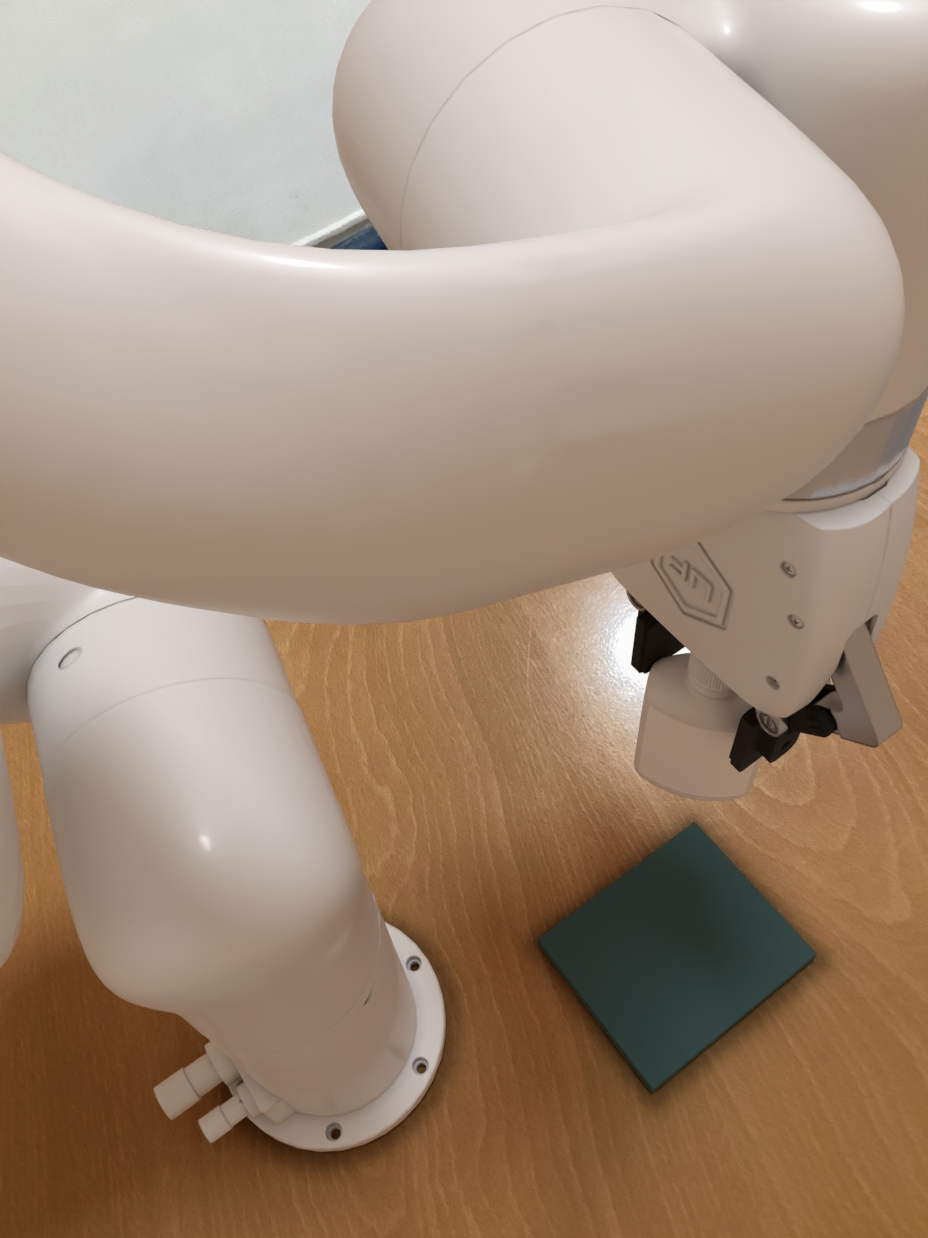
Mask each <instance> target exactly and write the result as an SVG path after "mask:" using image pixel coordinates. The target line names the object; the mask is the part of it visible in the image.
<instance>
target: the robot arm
mask: <svg viewBox="0 0 928 1238" xmlns="http://www.w3.org/2000/svg"><path fill="white" fill-rule="evenodd" d="M331 107H332V109H331V110H332V111H331V118H332V127H333V133H334V140H335V143H336V144H335V146H336V149H337V153H338V158H339V161H340V165H341V167H342V169H343V171H344V174H345V177H346V179H347V181H348V183H349V186H350V188H351V190H352V192H353V194H354V196H355V198H356V200H357V202H358V204H359V205H360V207H361V209H362V210H363V212H364V214H365V215H366V217H367V219H368V220H369V222H370V223H371V226H372V227H373V228H374V230H375V232H376V234H378V236H379V238H380V239H381V241H382V242H383V244H384V245H385V248H386V249H353V248H352V249H349V248H348V249H345V248H327V247H326V248H324V247H318V246H317V247H315V246H308V245H298V244H290V243H283V242H282V243H281V242H273V241H264V240H256V239H251V238H246V237H242V236H237V235H234V234H233V235H232V234H229V233H225V232H224V233H223V232H219V231H214V230H210V229H205V228H201V227H196V226H193V225H192V226H191V225H187V224H182V223H179V222H175V221H172V220H168V219H165V218H162V217H159V216H156V215H153V214H150V213H146V212H144V211H140V210H137V209H134V208H131V207H128V206H125V205H122V204H118V203H115V202H112V201H109V200H106V199H103V198H101V197H99V196H97V195H94V194H91V193H90V192H87V191H85V190H82V189H80V188H78V187H75V186H73V185H72V184H71V185H70V184H69V183H66V182H63V181H61V180H59V179H56V178H55V177H52V176H50V175H47V174H45V173H43V172H41V171H39V170H38V169H36V168H33V167H31V166H30V165H28V164H26V163H24V162H23V161H20V160H18V159H16V158H14V157H12V156H11V155H9V154H8V153H5V152H3V151H2V150H0V726H8V725H17V724H18V725H19V724H28V723H29V724H31V729H32V732H33V737H34V742H35V748H36V752H37V757H38V761H39V766H40V771H41V775H42V781H43V787H42V788H43V795H44V799H45V803H46V807H47V810H48V817H49V822H50V827H51V830H52V836H53V841H54V842H53V843H54V846H55V851H56V857H57V861H58V865H59V870H60V874H61V879H62V884H63V889H64V892H65V895H66V899H67V904H68V907H69V911H70V915H71V918H72V921H73V924H74V928H75V930H76V934H77V936H78V940H79V941H80V944H81V947H82V950H83V953H84V955H85V958H86V959H87V962H88V963H89V965H90V967H91V969H92V971H93V972H94V974H95V975H96V977H97V978H98V979H99V980H100V982H101V983H102V984H103V986H104V987H106V988H107V989H108V990H109V991H110V992H112V993H113V994H114V995H115V996H117V997H118V998H120V999H122V1000H124V1001H126V1002H128V1003H130V1004H132V1005H135V1006H139V1007H142V1008H145V1009H149V1010H155V1011H160V1012H166V1013H171V1014H176V1015H178V1016H179V1017H181V1018H182V1020H185V1022H187V1023H188V1024H189V1025H190V1026H191V1027H193V1029H195V1030H196V1031H197V1032H198V1033H200V1034H201V1035H202V1036H203V1037H205V1038H206V1039H207V1040H208V1042H207V1043H205V1044H204V1045H203V1046H204V1050H205V1053H204V1054H203V1055H201V1056H199V1057H198V1058H197V1059H195V1060H194V1061H192V1062H191V1063H190V1064H189V1065H186V1066H185V1067H184V1066H182V1067H181V1068H179V1069H178V1070H177V1071H175V1072H173V1073H172V1074H171V1075H169V1076H168V1077H167V1078H165V1079H164V1080H162V1081H160V1082H159V1083H158V1084H157V1085H155V1086H154V1087H153V1089H152V1090H153V1093H154V1096H155V1098H156V1101H157V1103H158V1104H159V1106H160V1108H161V1109H162V1111H163V1113H164V1114H165V1115H166V1117H167V1118H168V1119H169V1120H170V1121H173V1120H174V1119H176V1118H177V1117H178V1116H180V1115H182V1114H183V1113H184V1112H186V1111H188V1110H189V1109H190V1108H191V1107H193V1106H194V1105H195V1104H197V1103H198V1102H200V1101H202V1100H203V1097H204V1096H205V1095H207V1094H208V1093H209V1092H210V1091H212V1090H213V1089H215V1088H216V1087H217V1086H219V1085H220V1084H221V1083H223V1084H225V1086H227V1087H228V1089H229V1091H230V1093H231V1096H232V1097H230V1098H229V1099H227V1100H226V1101H225V1102H223V1103H222V1104H218V1105H217V1106H216V1107H214V1108H213V1109H211V1110H210V1111H208V1112H207V1113H206V1114H205V1115H202V1117H200V1118H198V1119H197V1122H198V1125H199V1128H200V1129H201V1130H200V1131H202V1133H203V1136H204V1137H205V1139H206V1140H207V1141H208V1142H209V1143H210V1144H213V1143H214V1142H216V1141H217V1140H218V1139H220V1138H222V1137H223V1136H224V1135H225V1134H227V1133H228V1132H229V1131H231V1130H232V1129H234V1126H235V1125H237V1124H238V1123H240V1122H241V1121H243V1119H245V1118H247V1119H248V1120H249V1121H250V1122H251V1123H253V1124H254V1125H255V1126H256V1127H257V1128H259V1129H260V1130H261V1131H263V1132H264V1133H265V1134H266V1135H268V1136H270V1137H271V1138H272V1139H274V1140H276V1141H278V1142H280V1143H283V1144H285V1145H288V1146H290V1147H293V1148H295V1149H299V1150H304V1151H310V1152H311V1151H312V1152H317V1153H325V1152H340V1151H347V1150H351V1149H353V1148H357V1147H361V1146H364V1145H366V1144H368V1143H371V1142H372V1141H375V1140H376V1139H379V1138H380V1137H383V1136H385V1135H387V1134H388V1133H389V1132H390V1131H391V1130H393V1129H394V1128H395V1127H397V1126H398V1125H399V1124H401V1123H402V1122H403V1121H405V1119H406V1118H407V1117H408V1116H410V1114H411V1113H412V1111H414V1109H415V1108H416V1107H417V1106H418V1105H419V1104H420V1103H421V1102H422V1099H423V1098H424V1097H425V1095H426V1093H427V1091H428V1090H429V1088H430V1087H431V1086H432V1083H433V1082H434V1079H435V1076H436V1074H437V1071H438V1069H439V1066H440V1063H441V1062H442V1057H443V1052H444V1047H445V1042H446V1038H447V1036H446V1035H447V1012H446V1007H445V1001H444V995H443V991H442V988H441V986H440V982H439V980H438V976H437V975H436V973H435V971H434V969H433V967H432V965H431V963H430V960H429V958H427V956H426V955H425V954H424V953H423V951H422V949H421V948H420V947H419V946H418V944H417V943H416V942H415V941H413V940H412V939H411V937H409V936H408V935H406V934H405V933H404V932H403V931H402V930H401V929H399V928H397V927H396V926H393V925H392V924H390V923H388V922H386V921H385V919H384V917H383V914H382V912H381V909H380V907H379V904H378V902H377V899H376V897H375V895H374V893H373V891H372V889H371V887H370V885H369V882H368V879H367V877H366V875H365V872H364V870H363V865H362V860H361V858H360V855H359V851H358V848H357V845H356V843H355V840H354V837H353V835H352V833H351V830H350V827H349V825H348V822H347V820H346V817H345V814H344V812H343V810H342V808H341V805H340V802H339V800H338V798H337V795H336V793H335V790H334V787H333V785H332V783H331V781H330V778H329V776H328V773H327V771H326V768H325V766H324V762H323V761H322V758H321V755H320V753H319V750H318V747H317V745H316V743H315V740H314V737H313V735H312V733H311V730H310V727H309V724H308V722H307V719H306V717H305V714H304V712H303V710H302V708H301V707H300V705H299V703H298V701H297V698H296V695H295V692H294V690H293V688H292V685H291V683H290V680H289V677H288V674H287V672H286V670H285V667H284V664H283V662H282V660H281V659H282V658H281V656H280V654H279V652H278V649H277V647H276V643H275V641H274V638H273V636H272V634H271V631H270V629H269V628H268V625H267V622H266V620H269V621H276V622H284V623H295V624H311V625H332V626H333V625H335V626H354V627H355V626H369V625H370V626H371V625H388V624H401V623H411V622H416V621H417V622H418V621H422V620H423V621H424V620H429V619H435V618H442V617H447V616H453V615H457V614H462V613H465V612H468V611H473V610H476V609H480V608H485V607H488V606H492V605H495V604H499V603H503V602H506V601H510V600H514V599H517V598H521V597H525V596H528V595H532V594H535V593H539V592H542V591H543V592H544V591H547V590H551V589H553V588H557V587H561V586H564V585H568V584H572V583H575V582H579V581H582V580H586V579H589V578H593V577H597V576H601V575H603V574H607V573H611V574H612V575H613V577H614V578H615V579H616V580H617V582H618V583H619V584H620V585H621V586H622V587H623V588H624V589H625V591H626V596H627V599H628V601H629V602H630V605H632V606H633V607H634V608H635V610H637V616H636V620H635V629H634V637H633V643H632V652H631V660H630V665H631V667H633V669H635V670H636V672H637V673H639V674H642V673H643V674H644V675H646V674H649V672H650V669H651V667H652V665H653V664H654V663H655V662H656V661H657V660H659V659H661V658H664V657H668V656H672V655H676V654H678V652H680V651H682V650H683V649H684V648H686V649H687V650H688V651H689V653H690V652H691V653H692V654H694V655H695V656H696V657H697V658H698V659H699V660H700V661H701V662H702V663H703V664H704V665H705V666H706V667H708V668H709V669H710V670H711V671H712V672H713V673H714V674H715V675H716V676H717V677H718V678H719V679H720V680H722V681H723V682H724V683H725V684H726V685H727V686H728V687H729V688H730V689H732V690H733V691H734V692H735V693H736V694H737V695H738V696H740V697H741V698H742V699H743V700H744V701H746V702H747V703H748V704H750V705H751V706H753V707H752V708H751V709H749V710H748V711H747V712H745V713H744V714H743V716H742V717H741V719H740V722H739V725H738V729H737V732H736V735H735V739H734V742H733V745H732V748H731V752H730V755H729V758H730V759H731V761H730V764H731V765H732V766H733V767H734V768H735V769H736V770H737V771H738V772H742V771H743V770H745V769H746V768H747V767H749V766H750V765H751V764H753V763H754V762H755V761H756V760H758V759H759V758H760V757H762V758H764V759H765V760H766V761H767V762H768V763H769V764H772V763H775V762H776V761H778V760H779V759H780V758H781V757H782V756H784V755H785V754H787V753H788V752H789V751H790V750H791V749H792V748H793V747H794V746H795V744H796V743H797V742H798V739H799V737H800V734H805V735H810V736H813V737H819V738H828V737H830V736H831V735H832V734H833V735H837V736H839V737H840V739H841V740H844V741H848V742H851V743H855V744H858V745H862V746H866V747H869V748H872V749H873V748H874V749H876V748H878V747H879V746H881V745H882V744H883V743H885V742H886V741H887V740H889V738H891V737H892V736H893V735H895V734H896V733H897V732H898V731H900V730H901V729H902V728H903V726H904V722H903V719H902V716H901V713H900V710H899V708H898V705H897V702H896V701H895V697H894V694H893V691H892V689H891V686H890V684H889V681H888V677H887V676H886V673H885V670H884V668H883V665H882V662H881V660H880V657H879V654H878V652H877V649H876V644H877V643H878V640H879V638H880V636H881V634H882V631H883V629H884V626H885V624H886V621H887V619H888V616H889V614H890V611H891V608H892V606H893V604H894V602H895V601H894V600H895V598H896V594H897V592H898V588H899V585H900V583H901V582H900V581H901V579H902V577H903V576H902V575H903V571H904V568H905V563H906V560H907V556H908V553H909V549H910V545H911V540H912V534H913V530H914V525H915V519H916V512H917V511H916V510H917V504H918V498H919V497H918V496H919V488H920V487H919V485H920V472H921V461H920V460H921V459H920V457H919V455H918V454H917V453H916V451H914V449H913V448H912V447H911V446H910V445H909V444H910V442H911V439H912V438H913V434H914V432H915V429H916V427H917V425H918V422H919V419H920V417H921V415H922V412H923V410H924V407H925V405H926V402H927V400H928V0H370V2H369V3H368V4H367V6H366V7H365V8H364V10H363V11H362V13H361V14H360V15H359V17H358V18H357V19H356V21H355V23H354V25H353V27H352V29H351V31H350V32H349V34H348V36H347V38H346V40H345V43H344V46H343V48H342V51H341V54H340V57H339V59H338V63H337V66H336V70H335V75H334V80H333V86H332V106H331ZM831 681H832V684H831ZM12 788H13V787H12V783H11V779H10V772H9V767H8V762H7V756H6V752H5V747H4V740H3V734H2V729H1V728H0V969H1V968H2V967H3V966H4V964H5V963H6V962H7V961H8V960H9V958H10V956H11V954H12V952H13V949H14V947H15V944H16V942H17V939H18V936H19V934H20V931H21V927H22V921H23V914H24V913H23V912H24V905H25V883H24V882H25V880H24V879H25V877H24V876H25V875H24V861H23V852H22V847H21V846H22V845H21V837H20V831H19V830H20V829H19V824H18V823H19V822H18V819H17V812H16V807H15V799H14V794H13V789H12ZM414 965H417V966H418V969H417V970H412V967H413V966H414ZM420 1066H425V1070H424V1072H422V1073H421V1072H419V1070H418V1069H419V1067H420ZM337 1130H338V1131H339V1132H340V1133H339V1134H340V1135H339V1136H338V1138H333V1133H334V1132H335V1131H337Z"/></svg>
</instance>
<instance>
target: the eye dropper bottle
mask: <svg viewBox="0 0 928 1238" xmlns="http://www.w3.org/2000/svg"><path fill="white" fill-rule="evenodd" d="M642 701H643V702H642V705H641V713H640V719H639V725H638V732H637V737H636V746H635V752H634V757H633V758H634V759H633V766H634V771H635V772H636V773H637V775H638V776H639V777H641V778H642V779H643V780H645V781H646V782H648V783H649V784H651V785H653V786H655V787H656V788H658V789H660V790H662V791H664V792H667V793H669V794H672V795H675V796H678V797H681V798H685V799H690V800H696V801H704V802H724V801H725V802H726V801H733V800H739V799H741V798H743V797H745V796H747V795H749V793H750V791H751V789H752V787H753V784H754V781H755V778H756V775H757V773H758V770H759V767H760V764H761V762H762V759H763V756H762V757H760V758H759V759H758V760H756V761H755V762H754V763H753V764H751V765H750V766H749V767H747V768H746V769H745V770H743V771H742V772H738V771H737V770H736V769H735V768H734V767H733V766H732V765H731V764H730V761H731V759H730V758H729V755H730V752H731V748H732V745H733V742H734V739H735V735H736V732H737V729H738V725H739V722H740V719H741V717H742V716H743V714H744V713H745V712H747V711H748V710H749V709H751V708H752V707H753V706H751V705H750V704H748V703H747V702H746V701H744V700H743V699H742V698H741V697H740V696H738V695H737V694H736V693H735V692H734V691H733V690H732V689H730V688H729V687H728V686H727V685H726V684H725V683H724V682H723V681H722V680H720V679H719V678H718V677H717V676H716V675H715V674H714V673H713V672H712V671H711V670H710V669H709V668H708V667H706V666H705V665H704V664H703V663H702V662H701V661H700V660H699V659H698V658H697V657H696V656H695V655H694V654H692V653H691V652H690V651H689V652H685V653H676V654H674V655H672V656H668V657H664V658H661V659H659V660H657V661H656V662H655V663H654V664H653V665H652V667H651V669H650V672H648V675H647V680H646V685H645V690H644V694H643V700H642Z"/></svg>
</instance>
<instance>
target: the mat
mask: <svg viewBox="0 0 928 1238" xmlns="http://www.w3.org/2000/svg"><path fill="white" fill-rule="evenodd" d="M537 946H538V947H539V949H540V950H541V951H542V953H544V955H545V956H546V958H547V959H548V961H550V963H551V964H552V965H553V967H554V968H555V969H556V971H557V972H558V973H559V974H560V976H561V977H562V978H563V980H564V981H565V982H566V984H567V985H568V987H570V989H571V990H572V992H573V993H574V994H575V996H576V997H577V998H578V1000H579V1001H580V1002H581V1003H582V1005H583V1006H584V1008H586V1010H587V1011H588V1013H589V1014H590V1015H591V1016H592V1018H593V1019H594V1020H595V1022H596V1023H597V1024H598V1026H599V1027H600V1028H601V1029H602V1031H603V1032H604V1033H605V1034H606V1036H607V1037H608V1039H609V1040H610V1041H611V1042H612V1044H613V1045H614V1046H615V1048H616V1049H617V1050H618V1052H619V1053H620V1055H622V1058H624V1059H625V1060H626V1062H627V1063H628V1065H629V1066H630V1067H631V1068H632V1070H633V1072H634V1073H635V1074H636V1075H637V1076H638V1078H639V1079H640V1080H641V1082H642V1083H643V1085H644V1086H645V1087H646V1088H647V1089H648V1091H649V1092H650V1093H651V1094H654V1093H655V1092H657V1091H658V1090H659V1089H660V1088H661V1087H662V1086H664V1085H665V1084H666V1083H667V1082H669V1080H671V1079H672V1078H673V1077H674V1076H676V1075H677V1074H678V1073H679V1072H681V1071H682V1070H683V1069H684V1068H686V1067H687V1066H688V1065H689V1064H690V1063H692V1062H693V1061H694V1060H695V1059H696V1058H697V1057H698V1056H700V1055H701V1054H702V1053H704V1051H706V1050H707V1049H708V1048H709V1047H711V1046H712V1045H713V1044H714V1043H716V1042H717V1041H718V1040H719V1039H720V1038H722V1036H724V1035H725V1034H726V1033H727V1032H729V1031H730V1030H732V1029H733V1027H735V1026H736V1025H737V1024H738V1023H739V1022H741V1021H742V1020H743V1019H745V1017H747V1016H748V1015H749V1014H750V1013H752V1012H753V1011H754V1010H756V1008H757V1007H759V1006H760V1005H761V1004H763V1003H764V1002H766V1000H767V999H768V998H770V997H771V996H772V995H773V994H775V993H776V991H778V990H779V989H780V988H781V987H783V986H784V985H785V984H786V983H788V982H789V981H790V980H791V979H792V978H793V977H795V976H796V975H798V974H799V972H801V971H802V970H804V968H806V967H807V966H808V965H810V963H812V962H813V961H814V960H815V959H816V957H817V955H818V954H817V953H816V951H815V950H814V949H813V948H812V947H811V946H810V945H809V943H808V942H807V941H806V940H805V939H804V938H803V937H802V936H801V935H800V934H799V933H798V932H797V931H796V929H795V928H794V927H793V926H792V925H791V924H790V923H789V922H788V920H786V919H785V918H784V916H783V915H782V914H781V913H780V912H779V911H778V910H777V909H776V908H775V907H774V905H772V904H771V902H770V901H769V900H768V899H767V898H766V897H765V896H764V895H763V894H762V892H760V891H759V889H757V887H756V885H754V884H753V883H752V882H751V880H749V879H748V878H747V876H745V874H744V873H743V872H742V871H741V870H740V868H738V867H737V865H736V864H735V863H733V862H732V860H731V859H730V858H729V857H728V856H727V855H726V853H724V851H722V849H721V848H720V847H719V846H718V845H717V843H715V842H714V841H713V840H712V839H711V838H710V836H709V835H708V834H707V833H706V832H705V831H704V830H703V829H702V828H701V827H700V825H698V823H696V822H695V821H693V822H692V823H691V824H689V825H688V826H686V827H685V828H683V829H682V830H681V831H680V832H679V833H677V834H676V835H675V836H673V837H671V838H670V839H669V840H668V841H666V842H665V843H663V844H662V845H661V846H660V847H658V848H657V849H655V850H654V851H653V852H652V853H650V854H649V855H648V856H647V857H645V858H644V859H642V860H641V861H640V862H638V863H637V864H636V865H635V866H633V867H632V868H630V869H629V870H628V871H626V872H625V873H624V874H622V875H621V876H619V877H618V878H617V879H615V880H614V881H613V882H612V883H610V884H609V885H607V886H606V887H605V888H603V889H602V890H601V891H600V892H598V893H596V894H595V895H594V896H593V897H591V898H590V899H589V900H588V901H586V902H585V903H583V904H581V906H579V907H578V908H577V909H576V910H574V911H573V912H572V913H570V914H569V915H567V916H566V917H565V918H564V919H562V920H561V921H559V922H558V923H557V924H555V925H554V926H553V927H552V928H550V929H548V930H547V931H546V932H545V933H543V934H542V935H541V936H539V937H538V938H537Z"/></svg>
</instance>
